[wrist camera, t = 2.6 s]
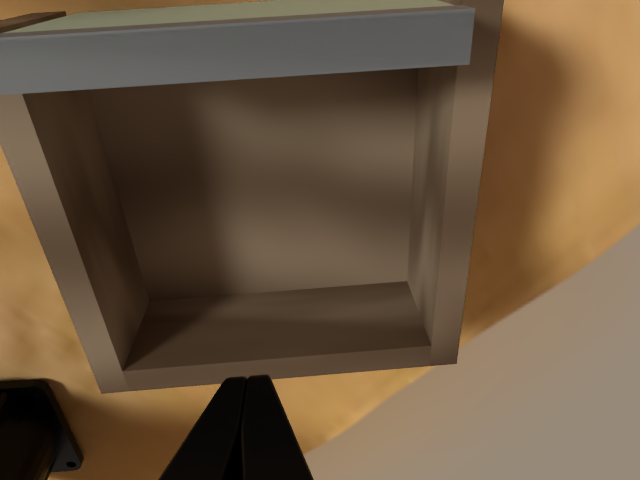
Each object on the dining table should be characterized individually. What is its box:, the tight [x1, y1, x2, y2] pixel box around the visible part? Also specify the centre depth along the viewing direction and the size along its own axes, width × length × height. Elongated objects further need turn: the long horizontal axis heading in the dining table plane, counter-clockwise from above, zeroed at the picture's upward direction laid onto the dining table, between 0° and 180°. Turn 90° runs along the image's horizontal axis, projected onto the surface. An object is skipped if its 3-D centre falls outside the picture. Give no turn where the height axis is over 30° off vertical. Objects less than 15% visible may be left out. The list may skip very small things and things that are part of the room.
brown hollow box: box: [0, 0, 504, 394], centre depth 17 cm, size 12×13×5 cm
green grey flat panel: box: [0, 0, 475, 95], centre depth 13 cm, size 1×10×6 cm, turn 93°
